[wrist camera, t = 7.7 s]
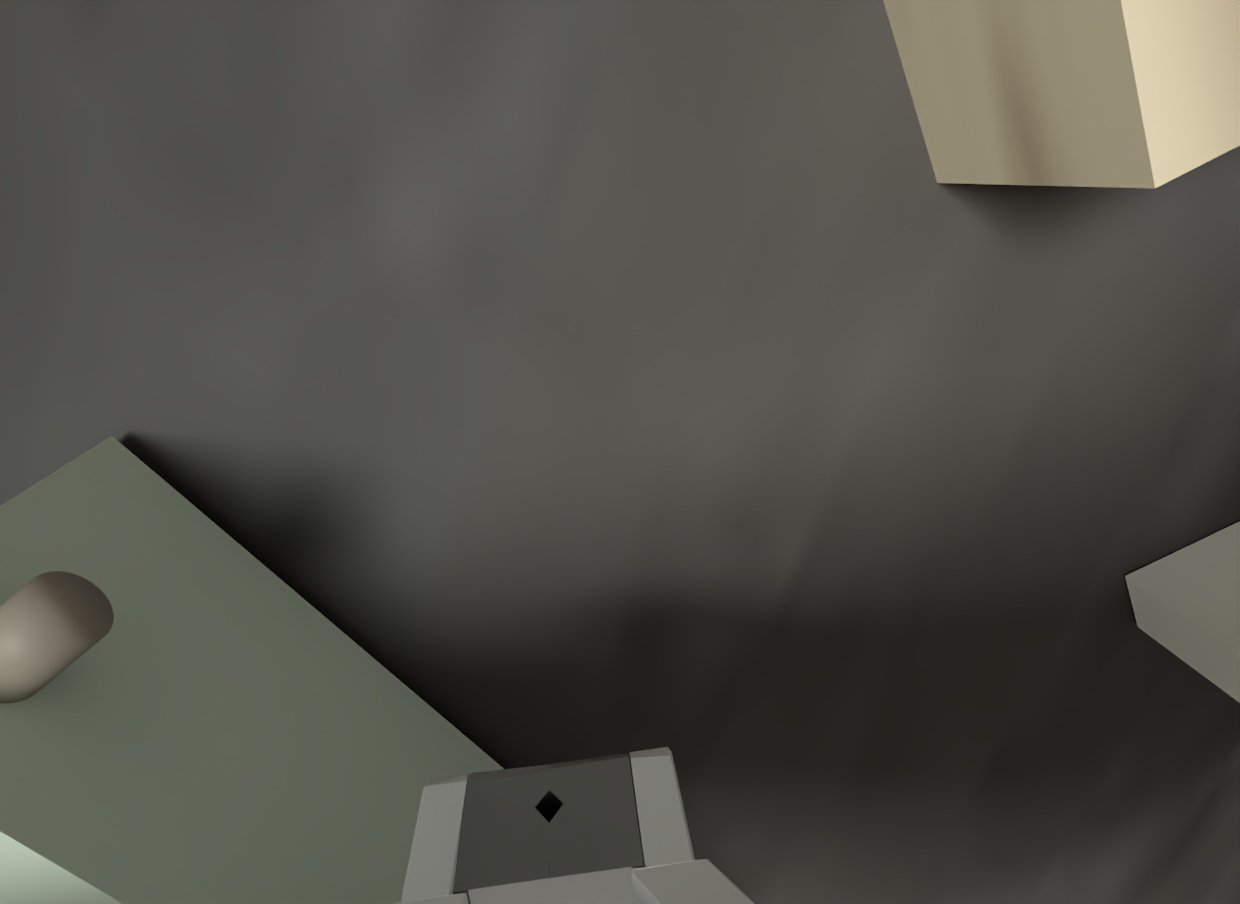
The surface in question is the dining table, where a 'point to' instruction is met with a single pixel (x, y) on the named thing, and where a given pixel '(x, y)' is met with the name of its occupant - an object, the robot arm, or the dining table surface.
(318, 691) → the door
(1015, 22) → the block
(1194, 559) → the white small pieces
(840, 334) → the dining table surface
